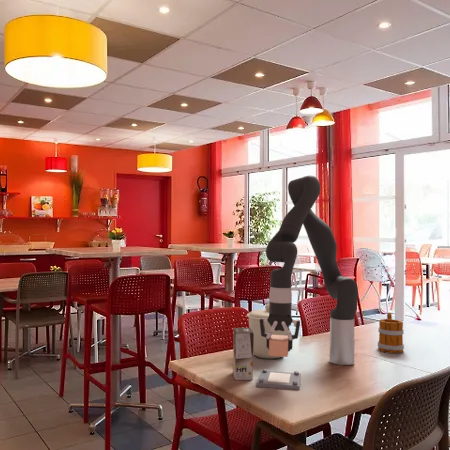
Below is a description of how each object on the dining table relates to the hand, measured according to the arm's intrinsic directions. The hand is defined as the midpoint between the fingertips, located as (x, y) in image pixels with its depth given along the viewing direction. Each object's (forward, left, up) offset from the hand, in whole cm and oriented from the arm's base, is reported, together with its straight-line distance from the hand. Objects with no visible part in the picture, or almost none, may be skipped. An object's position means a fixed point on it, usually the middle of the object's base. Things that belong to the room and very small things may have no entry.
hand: (279, 349), depth 165 cm
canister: (+7, -32, -11) cm, 35 cm away
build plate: (0, 0, -11) cm, 11 cm away
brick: (0, 0, -1) cm, 1 cm away
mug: (-44, -57, -11) cm, 73 cm away
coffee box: (+13, -3, -11) cm, 17 cm away
